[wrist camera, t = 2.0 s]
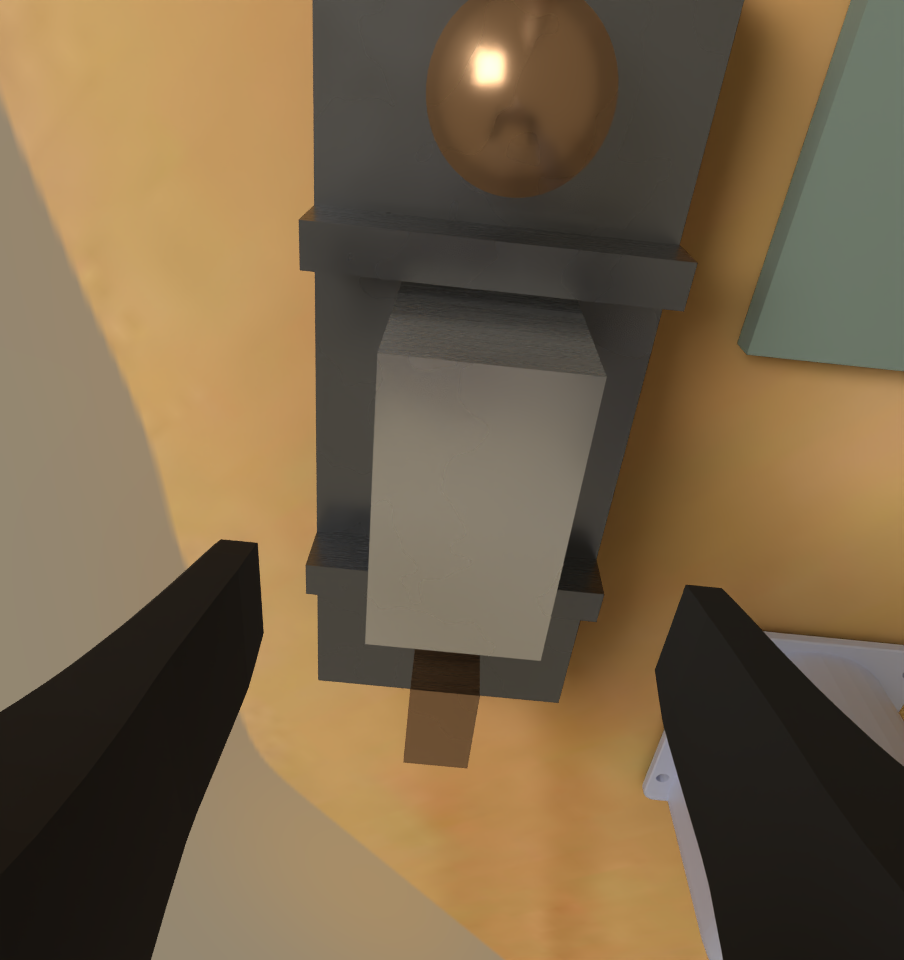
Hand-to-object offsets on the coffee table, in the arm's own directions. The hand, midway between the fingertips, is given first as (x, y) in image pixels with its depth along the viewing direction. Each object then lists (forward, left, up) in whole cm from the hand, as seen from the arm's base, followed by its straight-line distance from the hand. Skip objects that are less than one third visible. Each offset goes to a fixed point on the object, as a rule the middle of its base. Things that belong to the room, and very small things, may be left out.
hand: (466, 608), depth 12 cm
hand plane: (0, 0, -9) cm, 9 cm away
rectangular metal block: (0, 0, -7) cm, 7 cm away
